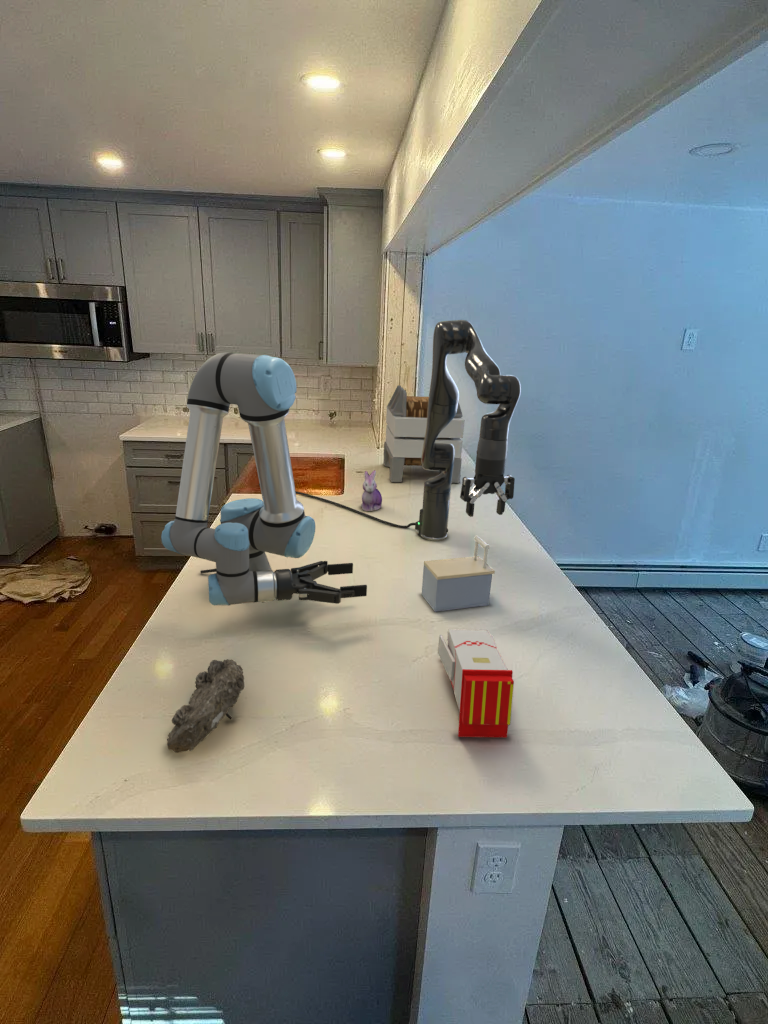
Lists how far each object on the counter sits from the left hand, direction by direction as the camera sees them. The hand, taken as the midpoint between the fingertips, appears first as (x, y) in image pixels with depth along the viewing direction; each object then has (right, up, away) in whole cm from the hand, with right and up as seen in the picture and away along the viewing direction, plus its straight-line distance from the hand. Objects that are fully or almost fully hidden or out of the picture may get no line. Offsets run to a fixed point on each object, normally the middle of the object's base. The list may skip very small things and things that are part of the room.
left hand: (359, 578), depth 144 cm
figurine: (+1, +18, +80) cm, 82 cm away
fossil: (-26, -22, -36) cm, 50 cm away
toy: (+24, -21, -25) cm, 41 cm away
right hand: (+33, +16, +6) cm, 37 cm away
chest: (+26, -7, +12) cm, 29 cm away
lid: (+26, +2, +9) cm, 28 cm away
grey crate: (+24, +36, +131) cm, 138 cm away
